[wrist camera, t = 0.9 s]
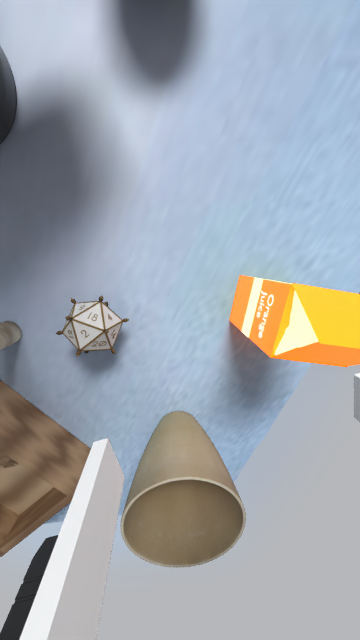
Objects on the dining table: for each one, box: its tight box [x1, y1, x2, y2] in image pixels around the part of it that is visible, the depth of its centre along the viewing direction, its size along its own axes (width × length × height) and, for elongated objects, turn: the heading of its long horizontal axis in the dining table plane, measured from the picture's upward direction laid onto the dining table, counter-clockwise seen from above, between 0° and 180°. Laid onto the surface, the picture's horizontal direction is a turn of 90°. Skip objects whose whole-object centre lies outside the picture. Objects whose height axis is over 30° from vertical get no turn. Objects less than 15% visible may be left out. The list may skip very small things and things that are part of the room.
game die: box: [56, 296, 129, 356], centre depth 31 cm, size 9×8×10 cm
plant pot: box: [121, 411, 246, 567], centre depth 33 cm, size 15×15×16 cm
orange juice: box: [230, 275, 360, 367], centre depth 26 cm, size 8×9×20 cm
